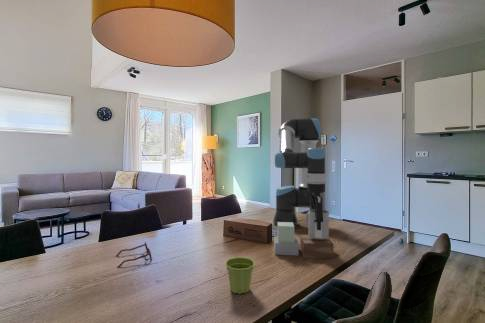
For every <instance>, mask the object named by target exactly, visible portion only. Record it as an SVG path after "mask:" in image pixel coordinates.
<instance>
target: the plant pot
mask: <svg viewBox="0 0 485 323" xmlns="http://www.w3.org/2000/svg"><path fill="white" fill-rule="evenodd" d="M255 264H256V262H255V261H254V260H253V259H251V258H248V257H231V258H229V259H226V261H225V267H226V270H227V274H228V280H229V287H230V290H231V292H232V293H233V292H234V293H233V294H236V293H238V294H237V295H241V294H243V293H244V294H247V293H248V292H249V291H250V289H251V280H252V274H253V270H254V267H255ZM246 292H247V293H246Z"/></svg>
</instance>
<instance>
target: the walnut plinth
mask: <svg viewBox="0 0 485 323" xmlns="http://www.w3.org/2000/svg"><path fill="white" fill-rule="evenodd" d="M299 235H300V237H299V240H300V241H299V246H300V250H301V254H302V256H303V258H305V259H306V258H308V259H309V258H310V259H334V242H333V241H332V240H331V239H330V237H328V238H327V239H314V238H311V237H309V235H308V234H299Z"/></svg>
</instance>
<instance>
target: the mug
mask: <svg viewBox="0 0 485 323" xmlns="http://www.w3.org/2000/svg"><path fill="white" fill-rule="evenodd" d="M329 217H330V212H329V211H328V210H326V209H323V222H322V238H318V237H315V222H314V220H316V219H315V209H311V210H310V209H309V210H308V212H307V213H305V223H306V226H307V227H308V231H307V233H308V234H307V235H309V237H311V238H314V239H327V238H328V237H329V235H330V233H329V232H330V230H329V228H330V226H329V224H330V223H329V222H330V220H329V219H330V218H329ZM318 219H320V218H318ZM329 238H330V237H329Z"/></svg>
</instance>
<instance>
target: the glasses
mask: <svg viewBox="0 0 485 323" xmlns="http://www.w3.org/2000/svg"><path fill="white" fill-rule="evenodd" d="M143 247H145V250H146V254H143V255H140V256H138V257H135V258H130V259H125V260H123V261H122V262H121V263H120V264H119V265H117V267H119V268H120V267H122V265H123V264H124V263H127V262H133V261H134V262H135V261H137V260H140V259H142V258H144V257H147V256H148V257H149V259H150V260H153V258H152V253H151V250H150V248H149V247H148V244H147V242H146V241H145V242H144V244H141V245H138V246H136V247H132V248H129V249H128V248H125V249H122V250H119V252H118V253H117V254H116V255H115V256H117V257H118V256H120V254H121V253H122V252H126V251H127V252H128V251H129V252H130V251H134V250H136V249H139V248H143Z"/></svg>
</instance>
